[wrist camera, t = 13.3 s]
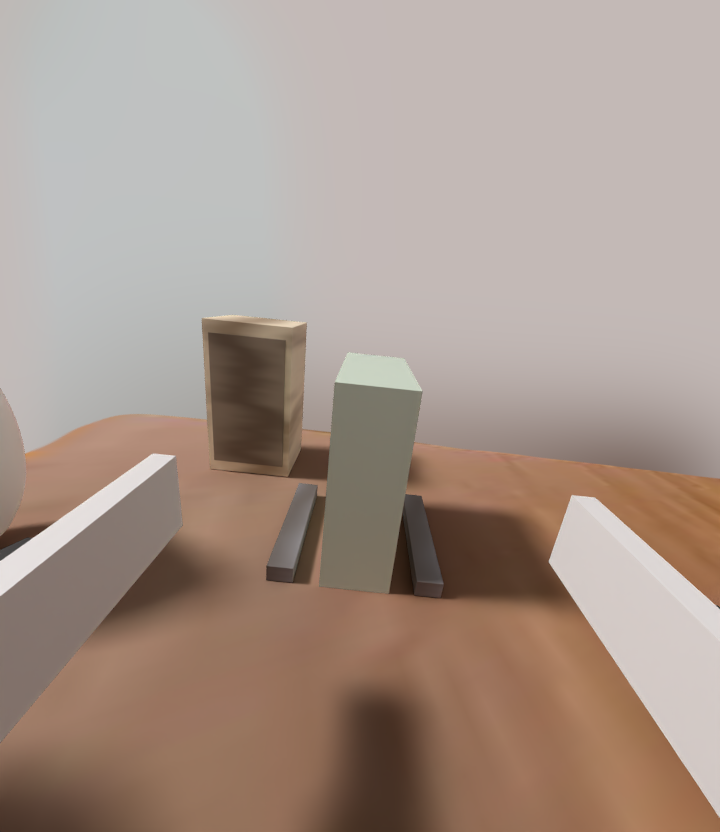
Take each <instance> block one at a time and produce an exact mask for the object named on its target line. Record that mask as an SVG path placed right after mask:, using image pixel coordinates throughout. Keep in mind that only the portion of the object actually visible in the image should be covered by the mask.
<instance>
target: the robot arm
mask: <svg viewBox="0 0 720 832" xmlns="http://www.w3.org/2000/svg"><path fill="white" fill-rule="evenodd" d="M182 526H183V523H182V513H181V503H180V493H179V483H178V472H177V462H176V456H172V455H162V454H152V455H150V456H149V457H147V458H146V459H144V460H143V461H142V462H140V463H139V464H137V465H136V466H135V467H133V468H132V469H130V470H129V471H127V472H126V473H125V474H123V475H122V476H120V477H119V478H118V479H116V480H115V481H113V482H112V483H110V484H109V485H108V486H106V487H105V488H103V489H102V490H101V491H99V492H98V493H96V494H95V495H93V496H92V497H91V498H89V499H88V500H86V501H85V502H83V503H82V504H81V505H79V506H78V507H76V508H75V509H74V510H72V511H71V512H69V513H68V514H66V515H65V516H64V517H62V518H61V519H59V520H58V521H57V522H55V523H54V524H52V525H51V526H49V527H48V528H47V529H45V530H44V531H42V532H41V533H39V534H38V535H37V536H35V537H34V538H25V539H23V540H21V541H19V542H17V543H14V544H12V545H10V546H8V547H6V548H4V549H1V550H0V743H1V742H2V740H3V739H4V738H5V737H6V736H7V734H8V733H9V732H10V731H11V730H12V728H13V727H14V726H15V725H16V724H17V723H18V721H19V720H20V719H21V718H22V717H23V715H24V714H25V713H26V712H27V711H28V709H29V708H30V707H31V706H32V705H33V703H34V702H35V701H36V700H37V699H38V697H39V696H40V695H41V694H42V693H43V691H44V690H45V689H46V688H47V687H48V686H49V684H50V683H51V682H52V681H53V680H54V678H55V677H56V676H57V675H58V674H59V672H60V671H61V670H62V669H63V668H64V666H65V665H66V664H67V663H68V662H69V660H70V659H71V658H72V657H73V656H74V654H75V653H76V652H77V651H78V650H79V649H80V647H81V646H82V645H83V644H84V643H85V641H86V640H87V639H88V638H89V637H90V635H91V634H92V633H93V632H94V631H95V629H96V628H97V627H98V626H99V625H100V623H101V622H102V621H103V620H104V619H105V617H106V616H107V615H108V614H109V613H110V612H111V610H112V609H113V608H114V607H115V606H116V604H117V603H118V602H119V601H120V600H121V598H122V597H123V596H124V595H125V594H126V592H127V591H128V590H129V589H130V588H131V586H132V585H133V584H134V583H135V582H136V580H137V579H138V578H139V577H140V576H141V575H142V573H143V572H144V571H145V570H146V569H147V567H148V566H149V565H150V564H151V563H152V561H153V560H154V559H155V558H156V557H157V555H158V554H159V553H160V552H161V551H162V549H163V548H164V547H165V546H166V545H167V543H168V542H169V541H170V540H171V539H172V538H173V536H174V535H175V534H176V533H177V532H178V530H179V529H180V528H181V527H182ZM549 563H550V565H551V566H552V568H553V569H554V571H555V572H556V574H557V575H558V577H559V578H560V580H561V581H562V583H563V584H564V586H565V587H566V589H567V590H568V592H569V593H570V595H571V596H572V598H573V599H574V601H575V602H576V604H577V605H578V607H579V608H580V610H581V611H582V613H583V614H584V616H585V617H586V619H587V620H588V622H589V623H590V625H591V626H592V628H593V629H594V631H595V632H596V634H597V635H598V637H599V638H600V640H601V641H602V643H603V644H604V646H605V647H606V649H607V650H608V651H609V653H610V654H611V656H612V657H613V659H614V660H615V662H616V663H617V665H618V666H619V668H620V669H621V671H622V672H623V674H624V675H625V677H626V678H627V680H628V681H629V683H630V684H631V686H632V687H633V689H634V690H635V692H636V693H637V695H638V696H639V698H640V699H641V701H642V702H643V704H644V705H645V707H646V708H647V710H648V711H649V713H650V714H651V716H652V717H653V719H654V720H655V722H656V723H657V725H658V726H659V728H660V729H661V731H662V732H663V734H664V735H665V737H666V738H667V740H668V741H669V743H670V744H671V746H672V747H673V749H674V750H675V752H676V753H677V755H678V756H679V758H680V759H681V761H682V762H683V764H684V765H685V767H686V768H687V770H688V771H689V773H690V774H691V776H692V777H693V778H694V780H695V781H696V783H697V784H698V786H699V787H700V789H701V790H702V792H703V793H704V795H705V796H706V798H707V799H708V801H709V802H710V804H711V805H712V807H713V808H714V810H715V811H716V813H717V814H718V816H719V817H720V607H719V606H717V605H715V604H713V603H712V602H711V601H710V600H709V599H708V598H707V597H706V596H704V595H703V594H702V593H701V592H700V591H699V590H698V589H697V588H696V587H694V586H693V585H692V584H691V583H690V582H689V581H688V580H687V579H685V578H684V577H683V576H682V575H681V574H680V573H679V572H678V571H677V570H675V569H674V568H673V567H672V566H671V565H670V564H669V563H668V562H666V561H665V560H664V559H663V558H662V557H661V556H660V555H659V554H657V553H656V552H655V551H654V550H653V549H652V548H651V547H650V546H649V545H647V544H646V543H645V542H644V541H643V540H642V539H641V538H640V537H638V536H637V535H636V534H635V533H634V532H633V531H632V530H631V529H629V528H628V527H627V526H626V525H625V524H624V523H623V522H622V521H621V520H619V519H618V518H617V517H616V516H615V515H614V514H613V513H612V512H610V511H609V510H608V509H607V508H606V507H605V506H604V505H603V504H602V503H600V502H599V501H598V500H597V499H596V498H593V497H583V496H573V495H572V496H571V499H570V502H569V505H568V508H567V511H566V514H565V516H564V519H563V522H562V525H561V528H560V531H559V534H558V536H557V539H556V542H555V545H554V548H553V551H552V554H551V557H550V559H549Z"/></svg>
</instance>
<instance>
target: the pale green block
mask: <svg viewBox="0 0 720 832" xmlns="http://www.w3.org/2000/svg"><path fill="white" fill-rule="evenodd" d="M421 397H422V390H421V388H420V386H419V384H418V383H417V381H416V379H415V377H414V375H413V373H412V372H411V370H410V368H409V366H408V364H407V363H406V361H405V359H404V358H395V357H386V356H376V355H367V354H357V353H348V354H347V356H346V358H345V360H344V362H343V365H342V367H341V369H340V371H339V374H338V376H337V378H336V381H335V386H334V399H333V412H332V425H331V438H330V451H329V464H328V477H327V490H326V503H325V516H324V529H323V541H322V554H321V567H320V580H319V587H328V588H337V589H347V590H357V591H367V592H376V593H386V594H389V589H390V583H391V577H392V571H393V565H394V559H395V553H396V547H397V541H398V535H399V529H400V523H401V517H402V511H403V505H404V499H405V493H406V487H407V481H408V475H409V469H410V463H411V457H412V451H413V445H414V439H415V433H416V427H417V421H418V416H419V410H420V403H421Z"/></svg>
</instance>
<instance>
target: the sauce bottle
mask: <svg viewBox="0 0 720 832" xmlns="http://www.w3.org/2000/svg"><path fill="white" fill-rule="evenodd" d="M25 482H26V460H25V451H24V446H23V441H22V437H21V433H20V430H19V427H18V424H17V421H16V418H15V416H14V414H13V411H12V409H11V407H10V405H9V403H8V401H7V399H6V397H5V395H4V394H3V392H2V390H1V389H0V536H1V535H2V534H3V533H4V532H5V531H6V530H7V529H8V528H9V526H10V524H11V522H12V520H13V518H14V516H15V514H16V512H17V510H18V508H19V506H20V503H21V500H22V497H23V493H24V489H25Z"/></svg>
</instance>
